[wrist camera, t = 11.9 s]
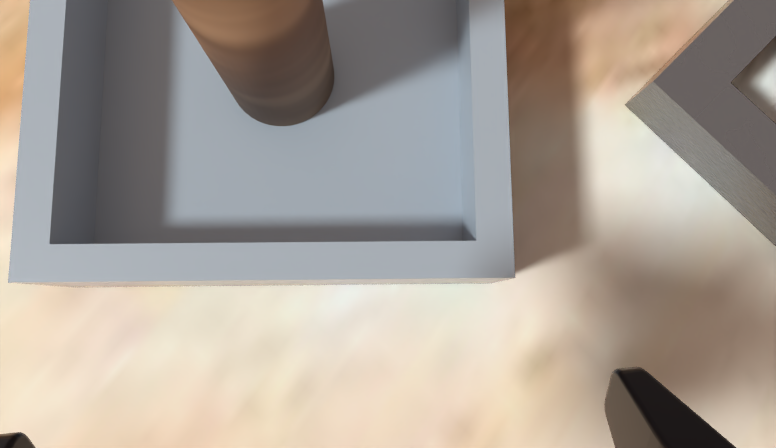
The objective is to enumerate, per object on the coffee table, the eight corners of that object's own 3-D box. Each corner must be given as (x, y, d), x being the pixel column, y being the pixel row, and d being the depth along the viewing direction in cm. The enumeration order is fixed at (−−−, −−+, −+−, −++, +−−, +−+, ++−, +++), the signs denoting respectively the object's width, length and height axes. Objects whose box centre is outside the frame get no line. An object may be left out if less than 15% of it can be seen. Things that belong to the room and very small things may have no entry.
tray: (491, 282, 23) (515, 277, 19) (72, 287, 23) (8, 282, 19) (478, -98, 25) (497, -173, 21) (96, -99, 25) (43, -175, 21)
